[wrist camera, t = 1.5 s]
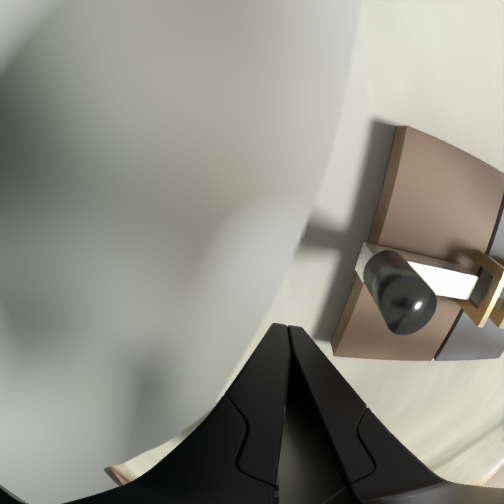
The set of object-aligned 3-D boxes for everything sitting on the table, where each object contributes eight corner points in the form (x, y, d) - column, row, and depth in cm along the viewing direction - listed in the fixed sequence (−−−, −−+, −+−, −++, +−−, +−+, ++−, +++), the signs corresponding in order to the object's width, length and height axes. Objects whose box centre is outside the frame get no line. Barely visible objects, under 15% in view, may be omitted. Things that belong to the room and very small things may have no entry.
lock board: (492, 349, 19) (498, 358, 18) (330, 342, 19) (333, 356, 18) (551, 210, 13) (561, 215, 12) (395, 126, 13) (407, 125, 12)
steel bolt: (454, 292, 15) (494, 339, 10) (349, 274, 15) (377, 333, 10) (468, 260, 14) (514, 301, 9) (362, 234, 14) (400, 281, 9)
